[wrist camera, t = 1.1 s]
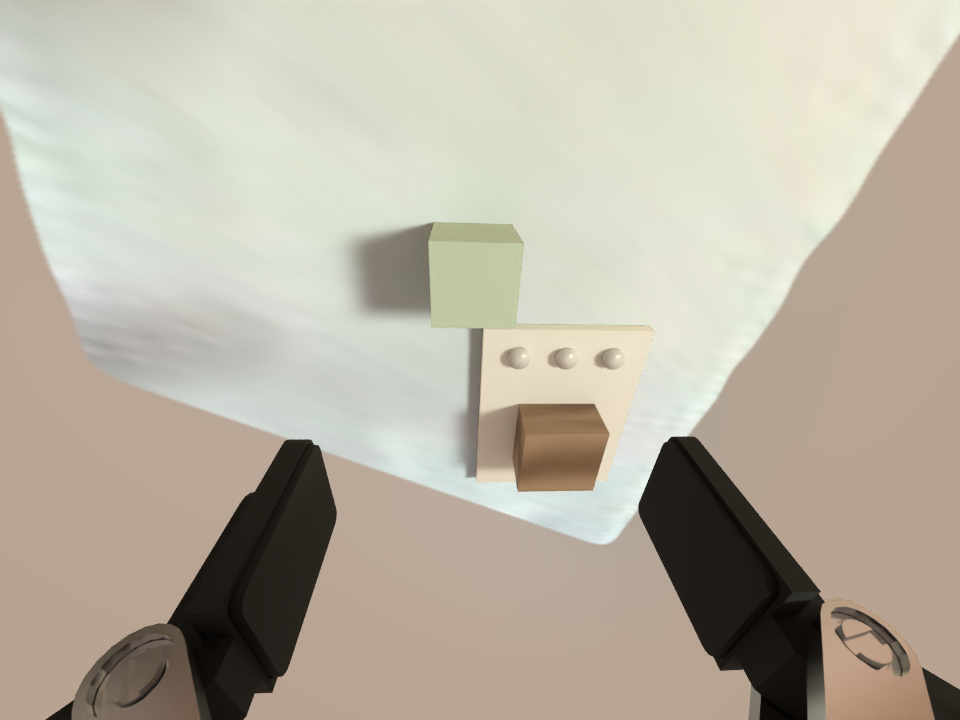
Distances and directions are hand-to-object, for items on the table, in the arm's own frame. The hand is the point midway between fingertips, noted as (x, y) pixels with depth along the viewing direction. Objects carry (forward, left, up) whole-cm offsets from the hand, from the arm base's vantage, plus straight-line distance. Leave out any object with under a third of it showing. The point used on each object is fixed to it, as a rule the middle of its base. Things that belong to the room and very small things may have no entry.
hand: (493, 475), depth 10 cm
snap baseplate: (+14, +8, -20) cm, 25 cm away
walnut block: (+16, +8, -19) cm, 26 cm away
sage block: (0, 0, -20) cm, 20 cm away
